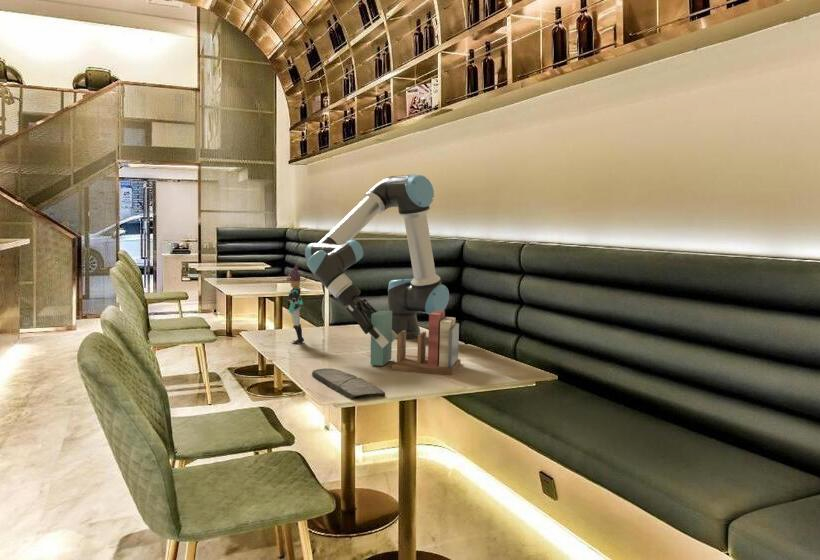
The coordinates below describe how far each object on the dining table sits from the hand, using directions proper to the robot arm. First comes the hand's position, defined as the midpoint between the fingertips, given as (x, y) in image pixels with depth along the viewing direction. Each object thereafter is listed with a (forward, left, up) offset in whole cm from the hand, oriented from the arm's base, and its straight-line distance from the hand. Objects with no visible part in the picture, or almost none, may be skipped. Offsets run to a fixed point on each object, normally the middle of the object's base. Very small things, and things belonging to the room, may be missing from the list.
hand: (390, 342), depth 196 cm
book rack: (0, +13, -7) cm, 15 cm away
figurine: (-21, -43, -7) cm, 49 cm away
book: (0, -3, -7) cm, 7 cm away
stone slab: (+30, -4, -8) cm, 31 cm away
